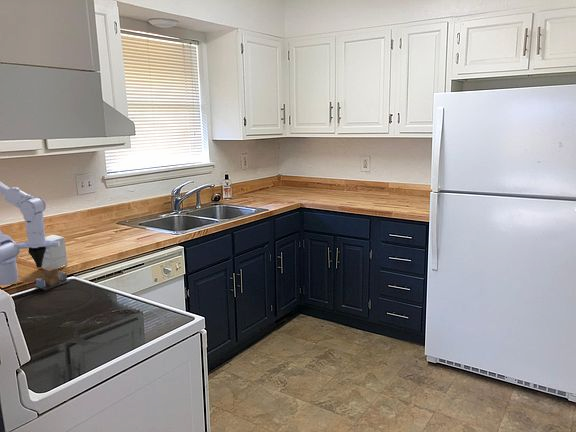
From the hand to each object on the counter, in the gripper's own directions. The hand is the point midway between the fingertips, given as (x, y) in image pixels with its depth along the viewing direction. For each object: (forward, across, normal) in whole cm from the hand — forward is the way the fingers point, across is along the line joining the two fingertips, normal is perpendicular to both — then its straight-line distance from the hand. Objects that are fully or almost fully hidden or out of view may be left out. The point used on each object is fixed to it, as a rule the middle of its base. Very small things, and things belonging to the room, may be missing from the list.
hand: (39, 266), depth 169 cm
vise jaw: (+8, 0, 0) cm, 8 cm away
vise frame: (+8, +3, +3) cm, 9 cm away
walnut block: (+8, +3, +2) cm, 9 cm away
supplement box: (+9, 0, +22) cm, 23 cm away
